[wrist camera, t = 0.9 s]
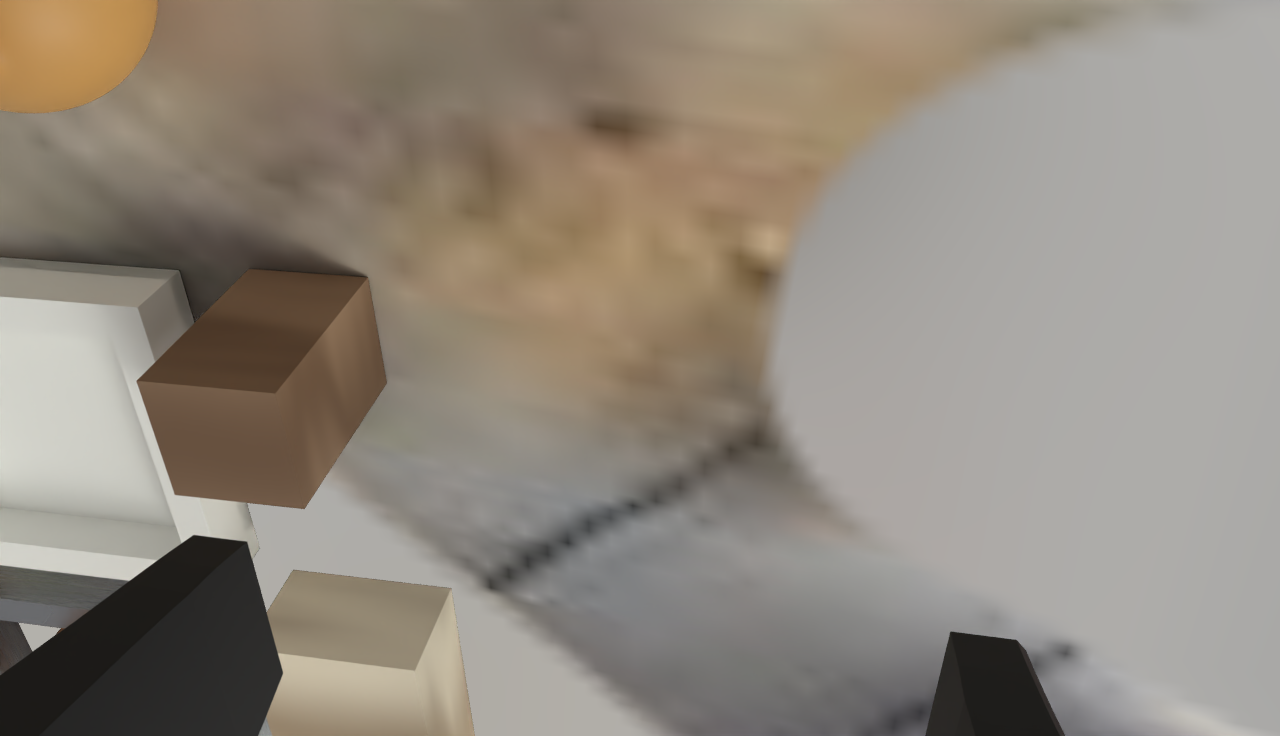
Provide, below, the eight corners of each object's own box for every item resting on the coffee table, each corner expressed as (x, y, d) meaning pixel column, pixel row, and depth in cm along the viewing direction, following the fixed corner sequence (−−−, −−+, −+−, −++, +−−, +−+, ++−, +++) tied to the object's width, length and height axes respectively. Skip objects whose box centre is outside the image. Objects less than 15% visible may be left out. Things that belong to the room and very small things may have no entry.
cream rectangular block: (480, 771, 29) (451, 856, 27) (342, 751, 29) (304, 833, 27) (451, 587, 25) (414, 670, 23) (293, 569, 26) (244, 648, 24)
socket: (286, 768, 31) (262, 814, 29) (49, 733, 32) (17, 776, 30) (225, 578, 26) (194, 623, 25) (-45, 546, 27) (-88, 587, 26)
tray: (259, 547, 25) (229, 593, 24) (-21, 516, 27) (-64, 557, 25) (178, 270, 21) (137, 307, 20) (-150, 246, 22) (-209, 279, 21)
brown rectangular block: (386, 382, 22) (304, 509, 19) (275, 373, 22) (174, 495, 19) (367, 277, 21) (275, 393, 17) (248, 268, 21) (136, 380, 18)
